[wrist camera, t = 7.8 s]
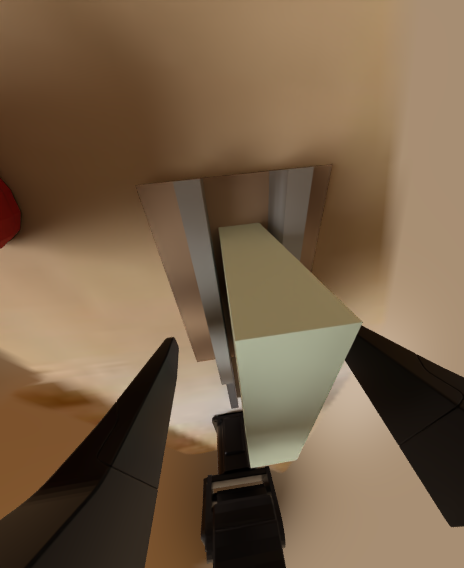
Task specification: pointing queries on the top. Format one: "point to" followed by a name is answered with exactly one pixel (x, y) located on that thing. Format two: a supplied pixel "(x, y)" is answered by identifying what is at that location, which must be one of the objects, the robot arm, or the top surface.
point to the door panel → (281, 341)
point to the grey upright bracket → (232, 392)
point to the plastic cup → (8, 215)
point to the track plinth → (206, 241)
